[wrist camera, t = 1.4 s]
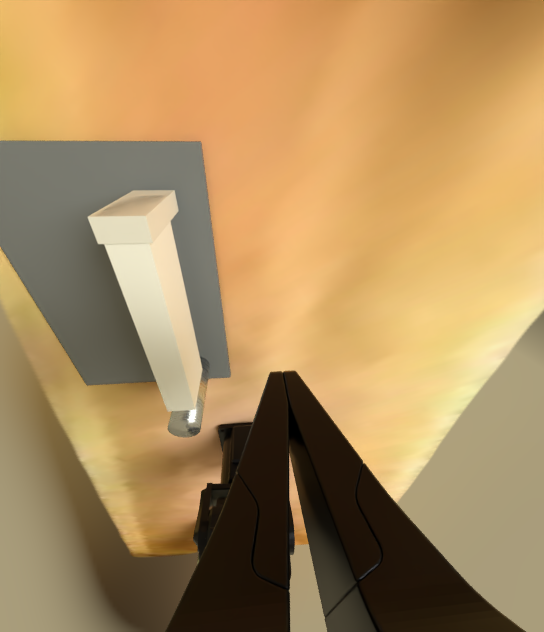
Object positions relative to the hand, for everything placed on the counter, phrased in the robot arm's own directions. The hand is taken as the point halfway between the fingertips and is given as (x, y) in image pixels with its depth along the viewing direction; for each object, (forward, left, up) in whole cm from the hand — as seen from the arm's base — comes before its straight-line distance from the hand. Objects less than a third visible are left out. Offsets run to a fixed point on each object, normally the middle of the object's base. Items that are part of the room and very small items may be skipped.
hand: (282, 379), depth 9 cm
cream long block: (-3, +6, -12) cm, 14 cm away
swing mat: (-4, +10, -13) cm, 17 cm away
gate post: (-12, +6, -13) cm, 19 cm away
